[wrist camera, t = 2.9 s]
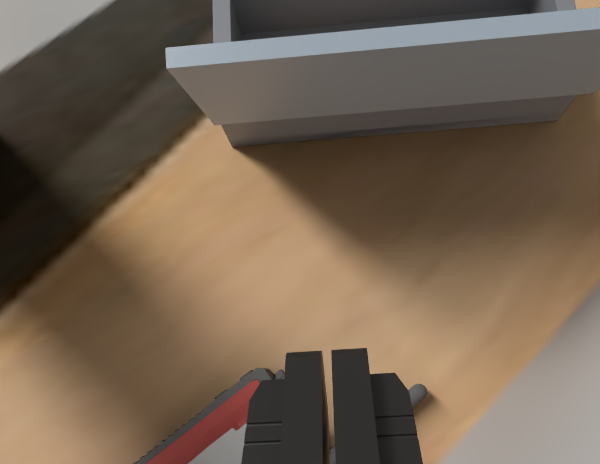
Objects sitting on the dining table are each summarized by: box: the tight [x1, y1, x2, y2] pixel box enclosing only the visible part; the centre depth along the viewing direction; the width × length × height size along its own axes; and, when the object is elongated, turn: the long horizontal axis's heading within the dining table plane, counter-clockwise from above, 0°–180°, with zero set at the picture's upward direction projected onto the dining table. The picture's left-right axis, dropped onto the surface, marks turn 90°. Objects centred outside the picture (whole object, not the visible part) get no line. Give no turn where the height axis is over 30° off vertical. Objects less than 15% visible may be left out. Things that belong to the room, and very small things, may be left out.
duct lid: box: [166, 7, 600, 125], centre depth 32 cm, size 10×24×1 cm
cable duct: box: [213, 0, 577, 147], centre depth 41 cm, size 10×24×6 cm, turn 93°
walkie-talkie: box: [133, 368, 427, 464], centre depth 37 cm, size 9×4×20 cm
